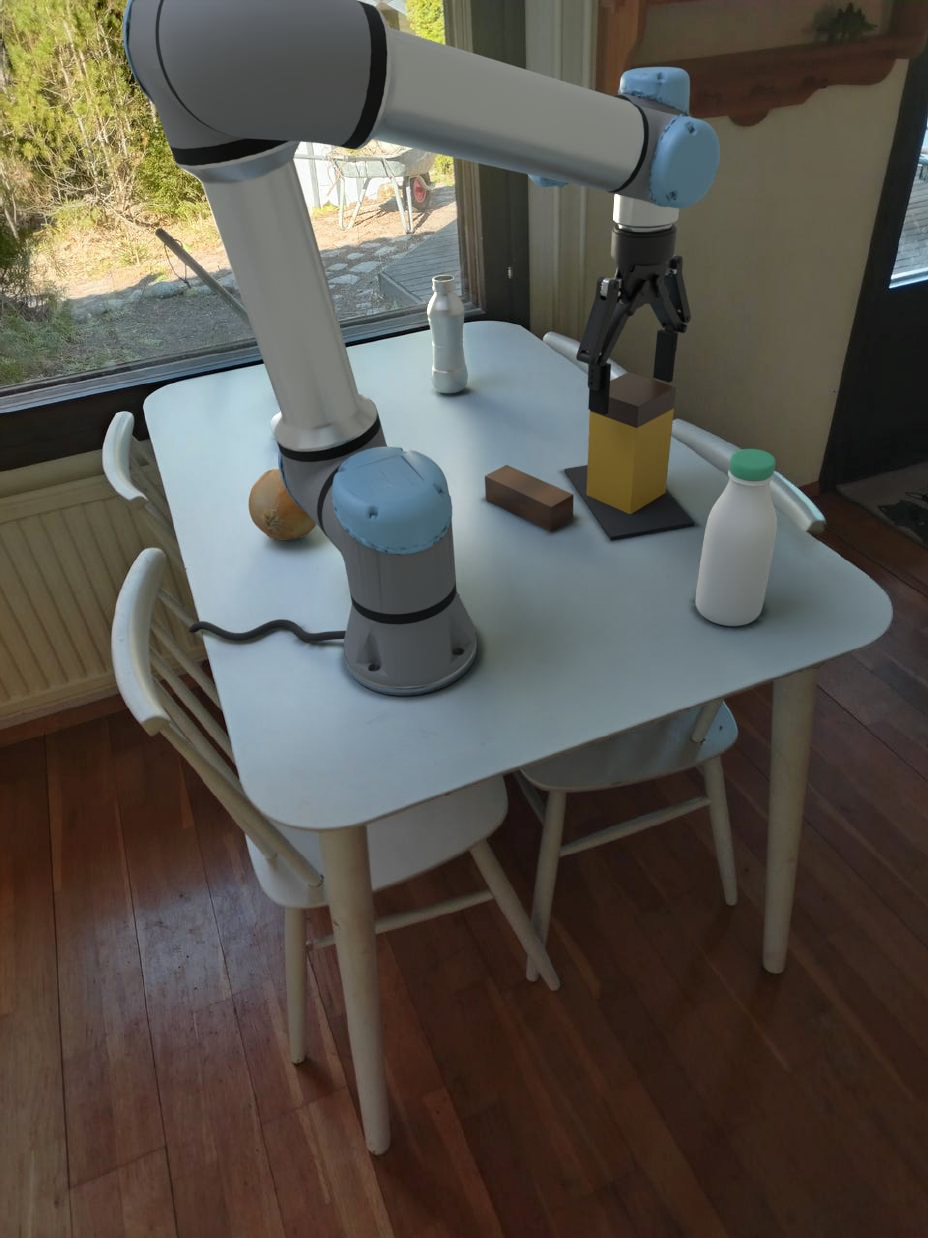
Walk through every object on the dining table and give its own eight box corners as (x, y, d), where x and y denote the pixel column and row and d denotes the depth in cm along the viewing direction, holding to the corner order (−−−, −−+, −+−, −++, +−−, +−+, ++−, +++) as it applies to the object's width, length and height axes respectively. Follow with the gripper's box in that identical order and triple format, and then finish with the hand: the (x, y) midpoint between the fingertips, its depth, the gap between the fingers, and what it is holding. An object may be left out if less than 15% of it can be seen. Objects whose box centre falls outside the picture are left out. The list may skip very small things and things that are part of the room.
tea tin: (621, 474, 127) (665, 492, 122) (586, 495, 123) (630, 514, 118) (628, 371, 117) (676, 386, 112) (590, 390, 113) (638, 406, 108)
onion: (251, 556, 116) (234, 492, 110) (262, 518, 124) (247, 457, 118) (321, 552, 116) (309, 488, 110) (328, 514, 124) (317, 452, 118)
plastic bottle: (428, 386, 158) (419, 275, 146) (463, 380, 160) (456, 270, 147) (437, 400, 153) (428, 286, 141) (473, 393, 155) (467, 280, 142)
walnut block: (485, 500, 125) (484, 475, 122) (507, 488, 127) (506, 464, 125) (551, 532, 117) (551, 507, 115) (573, 519, 119) (573, 494, 117)
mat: (610, 540, 115) (610, 536, 114) (564, 472, 130) (564, 468, 130) (694, 525, 116) (694, 522, 116) (638, 459, 132) (638, 456, 131)
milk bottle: (763, 630, 98) (795, 476, 86) (694, 625, 100) (716, 473, 87) (759, 591, 104) (788, 441, 92) (694, 586, 105) (714, 439, 93)
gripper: (681, 199, 109) (665, 360, 122) (549, 241, 96) (546, 417, 109) (732, 207, 104) (710, 373, 117) (600, 252, 92) (591, 434, 105)
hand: (631, 395), depth 113 cm, fingers open, 13 cm apart
